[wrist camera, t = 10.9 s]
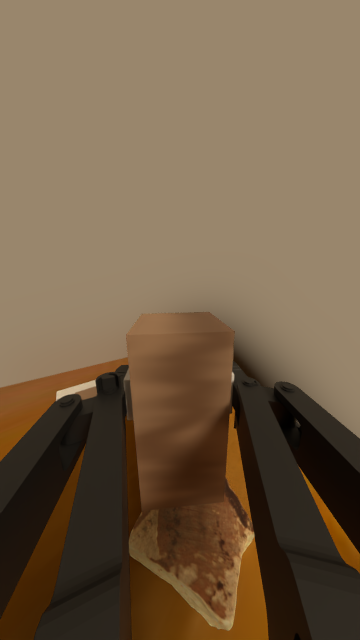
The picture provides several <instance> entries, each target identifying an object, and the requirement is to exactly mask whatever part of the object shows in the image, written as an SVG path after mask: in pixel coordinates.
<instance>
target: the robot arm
mask: <svg viewBox="0 0 360 640" xmlns="http://www.w3.org/2000/svg"><path fill="white" fill-rule="evenodd" d="M95 382H96V389H97V396H95V397H92V398H88V399H84V400H82V399H81V396H80V395H79V394H69V395H66V396H63V397H61V398H60V399H58V400H57V401H55V402H54V403H53V404H52V405H51V407H50V408H49V409H48V410H47V411H46V412H45V413H44V414H43V415H42V416H41V418H40V419H39V420H38V421H37V422H36V423H35V424H34V425H33V426H32V427H31V429H30V430H29V431H28V432H27V433H26V434H25V435H24V436H23V437H22V438H21V440H20V441H19V442H18V443H17V444H16V445H15V446H14V447H13V448H12V449H11V451H10V452H9V453H8V454H7V455H6V456H5V457H4V458H3V459H2V460H1V461H0V618H1V616H2V614H3V612H4V610H5V608H6V606H7V604H8V602H9V600H10V598H11V596H12V594H13V592H14V590H15V588H16V586H17V584H18V581H19V579H20V577H21V575H22V573H23V571H24V569H25V567H26V565H27V563H28V561H29V559H30V557H31V555H32V553H33V551H34V549H35V547H36V545H37V542H38V540H39V538H40V536H41V534H42V532H43V530H44V528H45V526H46V524H47V522H48V520H49V518H50V516H51V514H52V512H53V510H54V508H55V506H56V503H57V501H58V499H59V497H60V495H61V493H62V491H63V489H64V487H65V485H66V483H67V481H68V479H69V477H70V475H71V473H72V471H73V469H74V466H75V464H76V462H77V460H78V458H79V456H80V454H81V452H82V450H83V448H84V446H85V444H86V447H85V452H84V456H83V461H82V466H81V470H80V475H79V480H78V484H77V489H76V493H75V498H74V503H73V507H72V512H71V517H70V521H69V526H68V531H67V535H66V540H65V544H64V549H63V554H62V558H61V563H60V568H59V572H58V577H57V582H56V586H55V590H54V594H53V598H52V600H51V603H50V605H49V606H48V608H47V609H46V610H45V612H44V613H43V615H42V617H41V620H40V622H39V625H38V627H37V630H36V634H35V637H34V640H132V633H131V603H130V568H129V534H128V499H127V464H126V429H125V417H126V414H127V420H134V419H133V408H132V397H131V386H130V374H129V365H121V366H120V367H119V368H117V370H116V371H115V372H109V373H105V374H102V375H100V376H99V377H97V378H96V380H95ZM232 406H233V408H234V409H235V421H234V428H235V429H237V435H238V441H239V447H240V452H241V458H242V464H243V470H244V476H245V482H246V488H247V494H248V500H249V506H250V512H251V518H252V524H253V530H254V536H255V542H256V548H257V554H258V560H259V566H260V572H261V578H262V584H263V590H264V596H265V602H266V609H267V619H268V636H269V640H360V574H359V572H358V571H357V570H356V569H354V568H353V567H351V566H349V565H348V564H346V563H345V562H344V560H343V559H342V558H341V556H340V554H339V552H338V550H337V548H336V546H335V544H334V542H333V540H332V537H331V535H330V533H329V531H328V529H327V527H326V525H325V522H324V520H323V518H322V516H321V514H320V512H319V509H318V507H317V505H316V503H315V501H314V499H313V497H312V494H311V492H310V490H309V488H308V486H307V484H306V482H305V479H304V477H303V475H302V473H301V471H300V469H301V470H302V471H303V473H304V474H305V476H306V477H307V479H308V480H309V481H310V483H311V484H312V486H313V487H314V489H315V490H316V492H317V493H318V494H319V496H320V497H321V499H322V500H323V502H324V503H325V504H326V506H327V507H328V509H329V510H330V512H331V513H332V515H333V516H334V517H335V519H336V520H337V522H338V523H339V525H340V526H341V527H342V529H343V530H344V532H345V533H346V535H347V536H348V537H349V539H350V540H351V542H352V543H353V545H354V546H355V548H356V549H357V550H358V552H359V553H360V439H359V438H358V437H357V436H356V435H355V434H353V433H352V432H351V431H350V430H348V429H347V428H346V427H345V426H344V425H342V424H341V423H340V422H339V421H338V420H337V419H335V418H334V417H333V416H332V415H331V414H329V413H328V412H327V411H326V410H325V409H323V408H322V407H321V406H320V405H319V404H317V403H316V402H315V401H314V400H313V399H311V398H310V397H309V396H308V395H307V394H305V393H304V392H303V391H302V390H301V389H299V388H298V387H296V386H295V385H293V384H290V383H288V382H276V383H275V386H274V388H267V387H262V386H261V385H260V384H259V382H258V381H256V380H254V379H252V378H248V377H247V376H246V375H245V374H244V372H243V371H242V370H241V369H240V368H239V367H238V365H237V364H236V363H235V362H233V366H232V381H231V397H230V412H229V414H230V413H232ZM297 420H298V422H299V423H300V425H301V426H299V425H298V424H297V422H296V421H297ZM298 466H299V467H300V469H299V467H298Z"/></svg>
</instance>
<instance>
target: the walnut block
mask: <svg viewBox="0 0 360 640" xmlns="http://www.w3.org/2000/svg"><path fill="white" fill-rule="evenodd" d="M234 334H235V331H233V330H232V329H231V328H229V327H228V326H227V325H225V324H224V323H223V322H221V321H220V320H219V319H218V318H216V317H215V316H214V315H212V314H211V313H210V312H194V313H159V314H157V313H155V314H142V315H141V316H140V317H139V319H138V320H137V321H136V323H135V324H134V325H133V327H132V328H131V329H130V331H129V332H128V333H127V334H126V340H127V352H128V363H129V374H130V386H131V397H132V408H133V419H134V430H135V442H136V453H137V464H138V475H139V487H140V498H141V509H142V511H146V510H155V509H165V508H174V507H184V506H193V505H203V504H212V503H222V502H224V491H225V475H226V459H227V444H228V428H229V412H230V397H231V381H232V366H233V350H234Z"/></svg>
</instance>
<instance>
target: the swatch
mask: <svg viewBox="0 0 360 640" xmlns="http://www.w3.org/2000/svg"><path fill="white" fill-rule="evenodd" d="M69 394H79V395H80V396H81V399H82V400H84V399H88V398H92V397H95V396H97V389H96V382H95V380H94V381H90V382H87V383H84V384H80V385H77V386H74V387H70V388H67V389H64V390H60V391H57V397H56V401H57V400H58V399H60V398H61V397H63V396H66V395H69Z"/></svg>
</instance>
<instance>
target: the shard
mask: <svg viewBox="0 0 360 640" xmlns="http://www.w3.org/2000/svg"><path fill="white" fill-rule="evenodd" d="M253 538H254V530H253V524H252V522H251V521H250V519H249V517H248V514H247V513H246V511H245V510H244V509H243V507H242V504H241V502H240V500H239V499H238V497H237V496H236V494H235V492H234V491H233V490H232V489H231V488H230V485H229V483H228V480H227V478H226V477H225V491H224V502H222V503H212V504H203V505H193V506H184V507H174V508H165V509H155V510H146V511H142V512H141V514H140V516H139V517H138V519H137V521H136V523H135V525H134V527H133V529H132V531H131V534H130V538H129V553H130V556H131V557H133V558H134V559H135V560H137V561H139V562H141V563H142V564H143V565H144V566H145V567H147V568H148V569H149V570H151V571H152V572H153V573H155V574H156V575H158V576H159V577H160V578H162V579H164V580H165V581H166V582H168V583H170V584H171V585H172V586H173V587H174V588H175V590H176V591H177V592H179V594H180V595H181V596H182V597H183V598H184V600H186V601H187V602H188V604H189V605H190V606H191V607H192V608H194V609H195V610H196V611H197V612H198V613H200V614H201V615H202V616H203V617H204V618H205V620H206V621H207V622H208V624H209V625H210V626H213V627H216V628H217V629H225V630H227V631H229V630H230V629H231V628H232V626H233V621H234V615H235V607H236V596H237V592H236V591H237V586H238V578H239V572H240V564H241V558H242V555H243V552H244V551H245V550H246V548H247V546H249V545H250V543H251V542H252V540H253Z"/></svg>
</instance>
